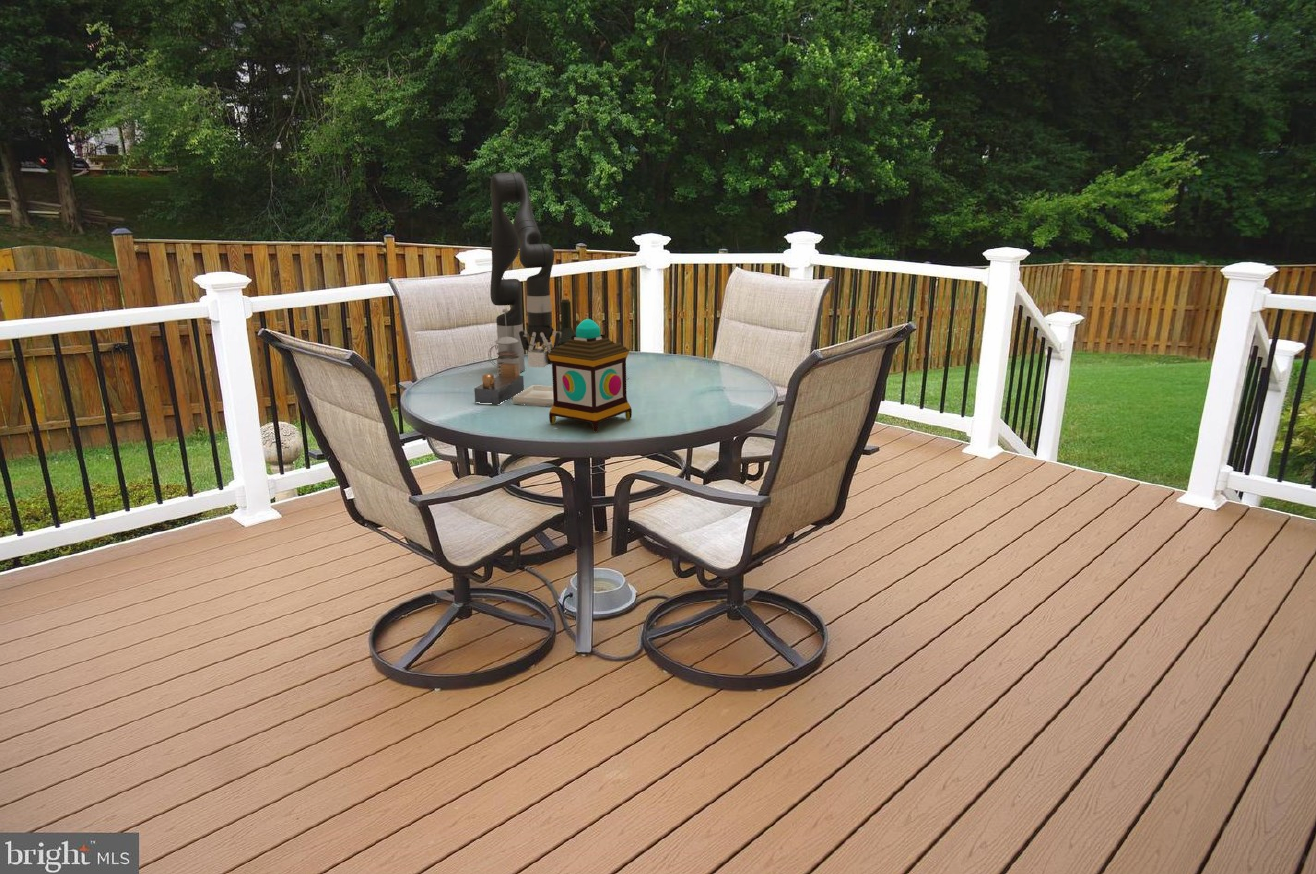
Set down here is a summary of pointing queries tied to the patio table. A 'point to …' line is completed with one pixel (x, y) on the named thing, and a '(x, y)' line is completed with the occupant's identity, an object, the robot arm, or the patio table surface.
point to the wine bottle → (566, 321)
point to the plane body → (500, 385)
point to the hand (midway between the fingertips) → (541, 363)
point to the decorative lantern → (589, 377)
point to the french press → (507, 353)
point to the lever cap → (538, 357)
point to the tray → (535, 396)
